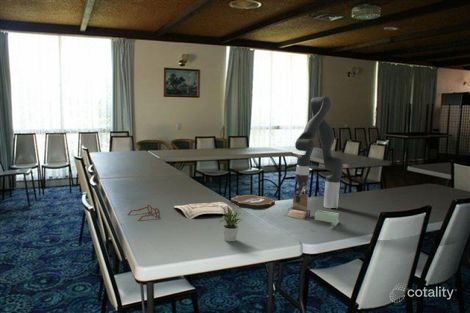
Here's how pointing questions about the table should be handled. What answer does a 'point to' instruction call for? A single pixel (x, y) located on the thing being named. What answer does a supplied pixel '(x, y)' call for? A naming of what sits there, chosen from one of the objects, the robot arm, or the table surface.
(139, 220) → the glasses
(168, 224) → the table surface
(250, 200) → the decorative plaque
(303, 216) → the offcut lower
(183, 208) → the poster
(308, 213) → the offcut rack
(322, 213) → the slotted stand
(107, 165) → the table surface
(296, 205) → the walnut sheet
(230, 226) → the house plant
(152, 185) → the table surface
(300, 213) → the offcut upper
